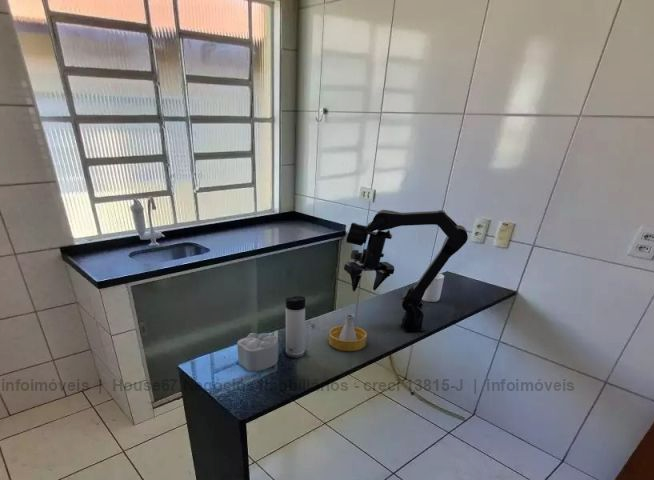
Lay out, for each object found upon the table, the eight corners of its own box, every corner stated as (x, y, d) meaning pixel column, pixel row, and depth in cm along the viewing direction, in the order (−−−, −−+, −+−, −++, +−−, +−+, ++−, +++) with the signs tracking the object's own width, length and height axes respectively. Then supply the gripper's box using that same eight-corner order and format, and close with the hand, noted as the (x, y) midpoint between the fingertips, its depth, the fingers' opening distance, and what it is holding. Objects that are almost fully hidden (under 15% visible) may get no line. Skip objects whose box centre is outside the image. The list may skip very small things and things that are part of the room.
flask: (361, 344, 141) (364, 318, 136) (342, 347, 140) (344, 320, 134) (352, 336, 147) (354, 310, 142) (334, 339, 145) (335, 313, 140)
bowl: (360, 334, 150) (361, 324, 147) (369, 351, 139) (371, 340, 136) (325, 336, 149) (326, 326, 146) (332, 352, 138) (332, 342, 135)
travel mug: (291, 359, 133) (291, 302, 123) (282, 351, 138) (282, 295, 128) (308, 355, 136) (309, 298, 125) (298, 347, 141) (299, 292, 130)
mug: (447, 297, 182) (452, 273, 176) (432, 304, 175) (437, 279, 170) (430, 292, 188) (434, 269, 182) (415, 298, 181) (419, 275, 175)
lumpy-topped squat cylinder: (234, 360, 133) (232, 336, 128) (267, 349, 140) (266, 326, 135) (252, 373, 126) (250, 348, 121) (285, 361, 133) (285, 337, 128)
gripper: (382, 241, 153) (372, 281, 161) (340, 241, 145) (332, 282, 154) (400, 251, 145) (388, 292, 153) (357, 251, 137) (347, 294, 146)
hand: (363, 290), depth 152 cm, fingers open, 9 cm apart
